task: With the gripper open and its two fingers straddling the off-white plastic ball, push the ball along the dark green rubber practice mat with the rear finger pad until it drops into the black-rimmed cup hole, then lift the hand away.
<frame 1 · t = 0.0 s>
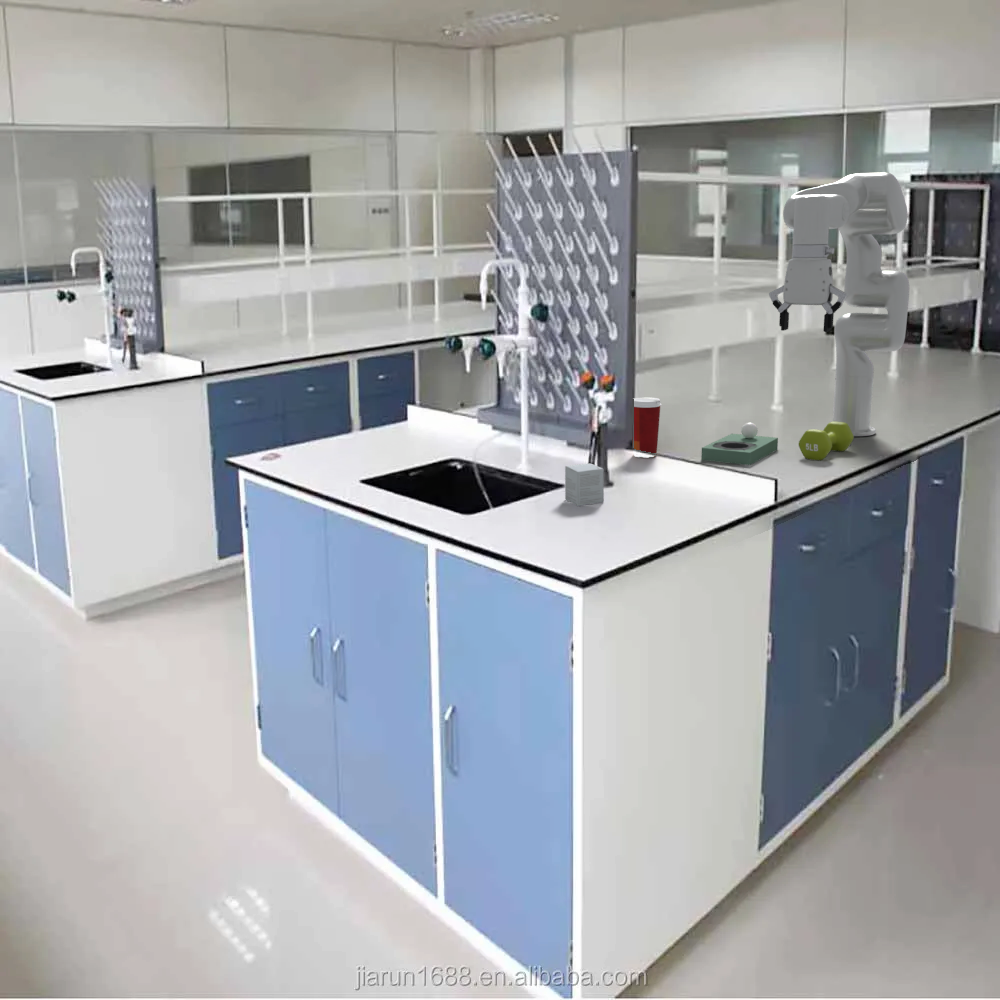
hand: (805, 330, 240), 31 cm above the countertop, fingers open, 9 cm apart
product box: (584, 502, 219), on the countertop
dumbbell: (825, 455, 259), on the countertop
paper cup: (644, 456, 261), on the countertop
putting mat: (740, 454, 260), on the countertop
ball: (749, 430, 264), point 5 cm above the countertop, touching putting mat
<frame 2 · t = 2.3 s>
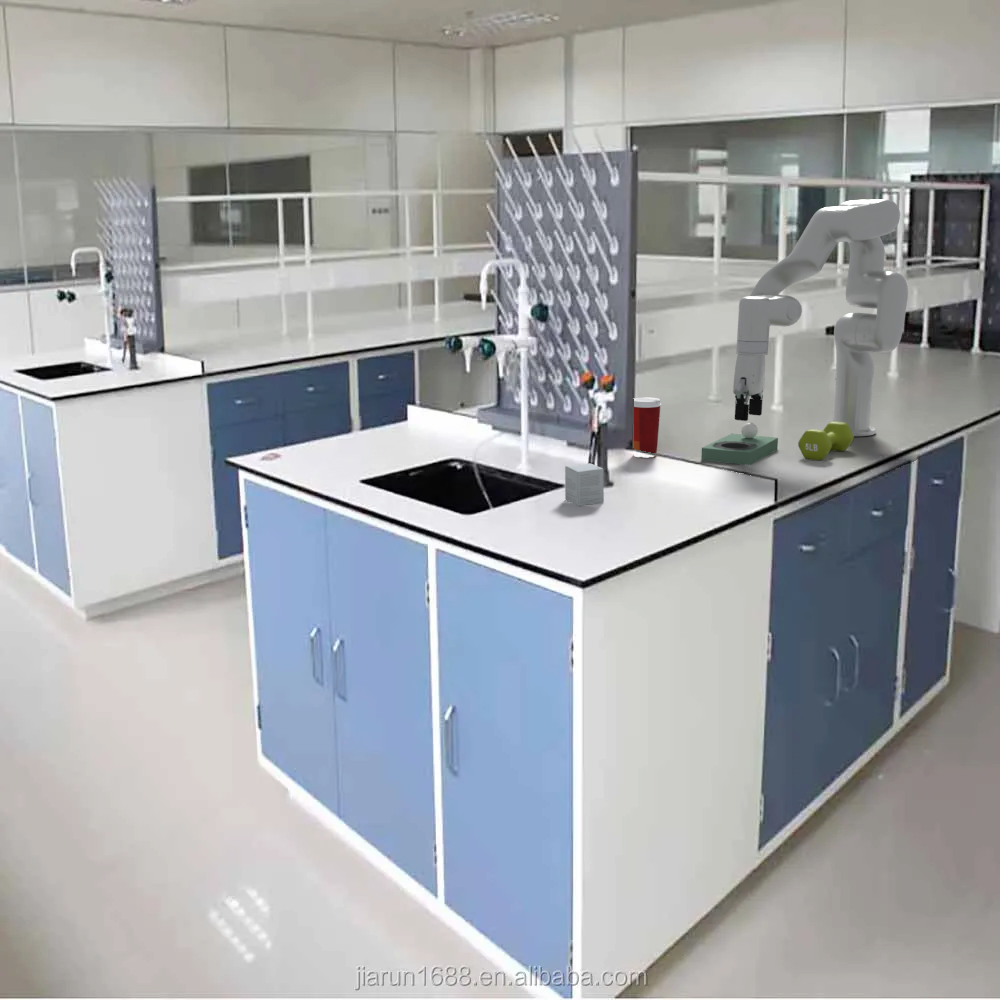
hand: (748, 417, 262), 8 cm above the countertop, fingers open, 9 cm apart
nothing on the countertop moved.
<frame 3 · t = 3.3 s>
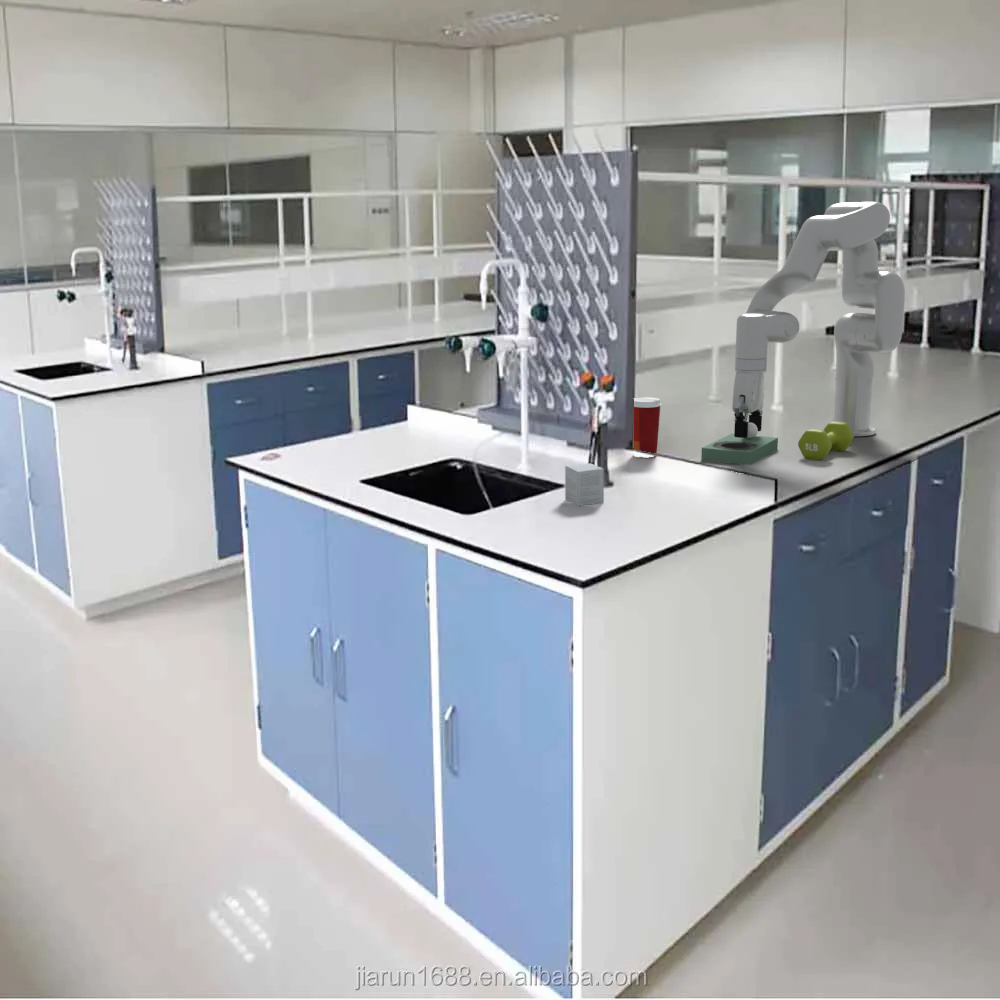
hand: (747, 434, 263), 4 cm above the countertop, fingers open, 9 cm apart
nothing on the countertop moved.
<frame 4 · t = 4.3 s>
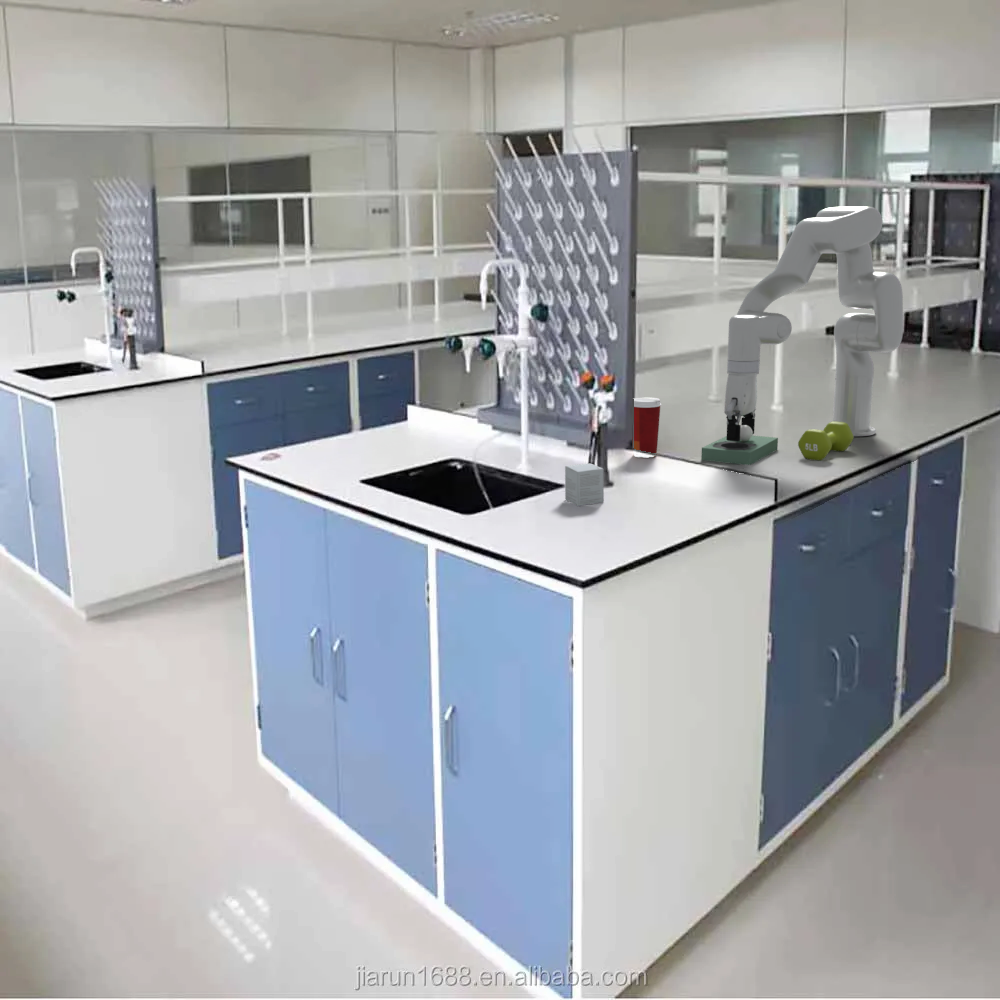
hand: (740, 437, 259), 4 cm above the countertop, fingers open, 9 cm apart
ball: (744, 433, 261), point 5 cm above the countertop, tilted 103°, touching putting mat
everything else where it was.
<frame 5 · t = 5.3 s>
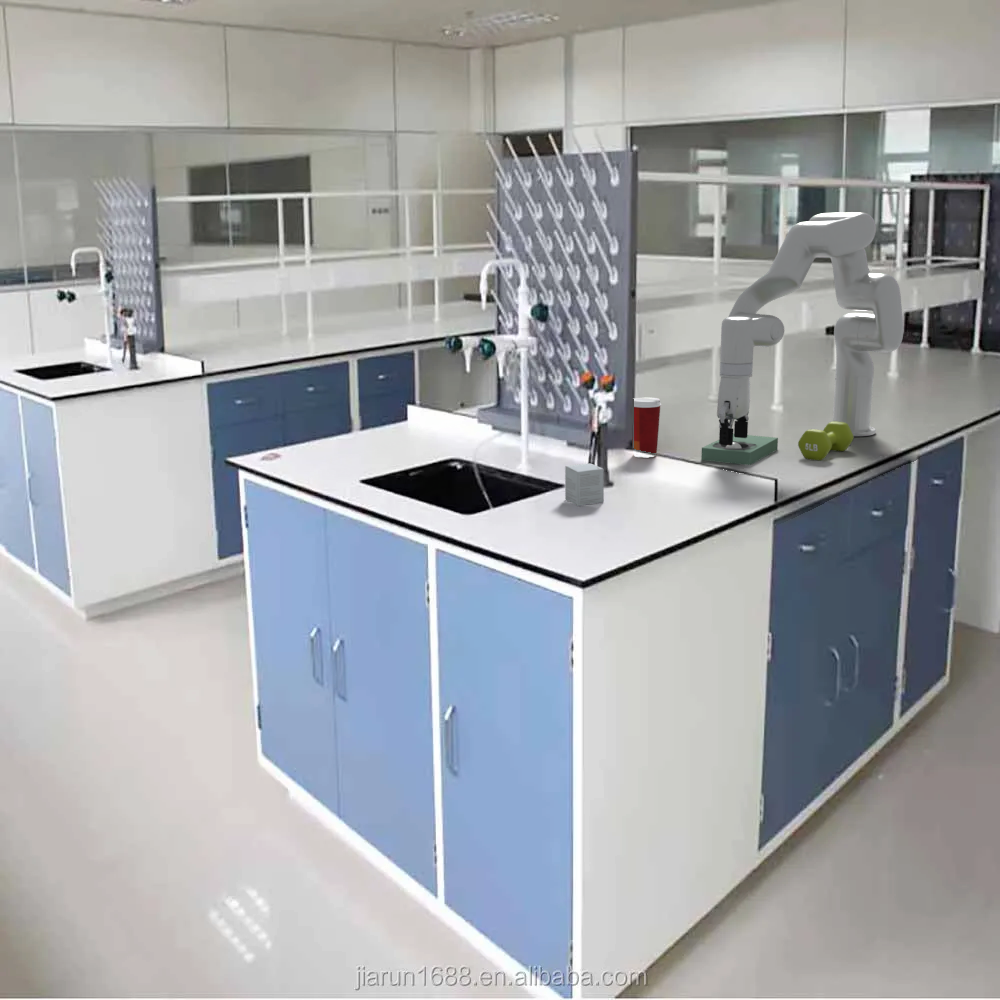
hand: (733, 441, 255), 4 cm above the countertop, fingers open, 9 cm apart
ball: (733, 450, 256), point 2 cm above the countertop, tilted 25°
everything else where it was.
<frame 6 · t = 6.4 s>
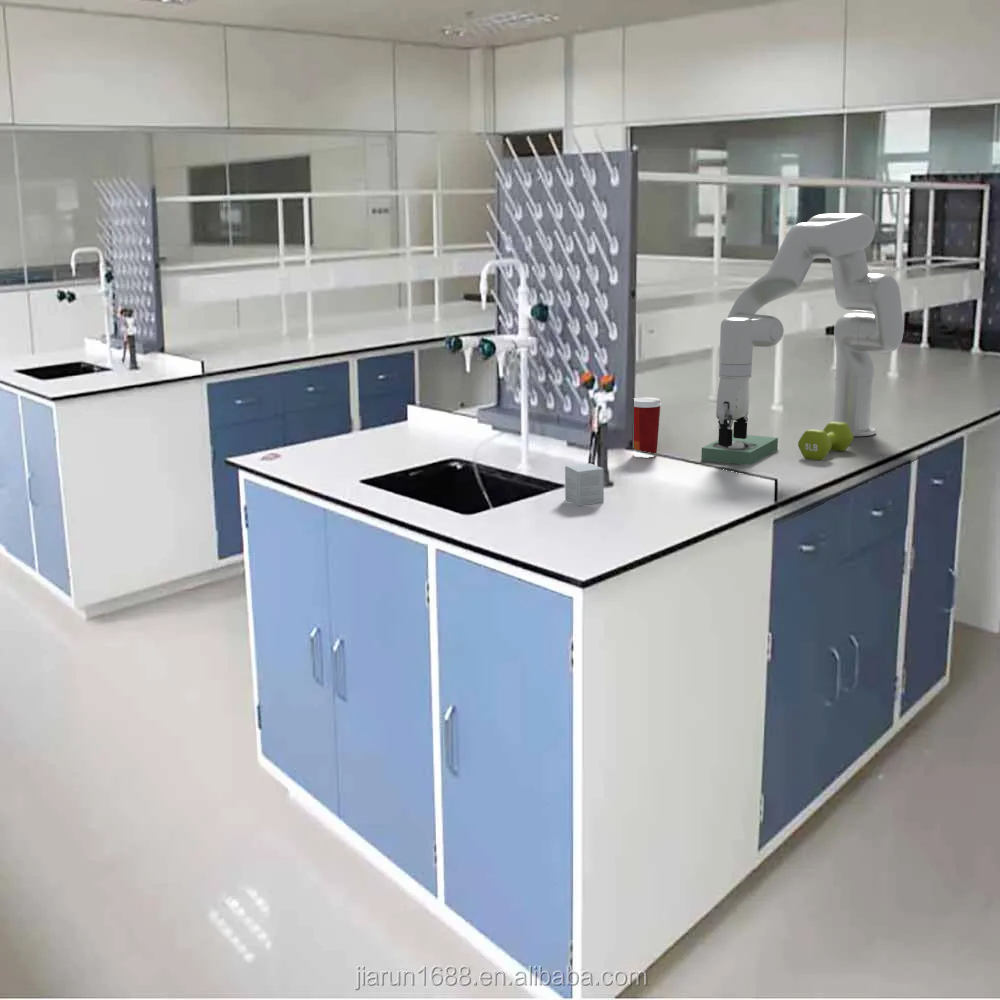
hand: (732, 441, 254), 4 cm above the countertop, fingers open, 9 cm apart
ball: (736, 448, 257), point 2 cm above the countertop, tilted 83°
everything else where it was.
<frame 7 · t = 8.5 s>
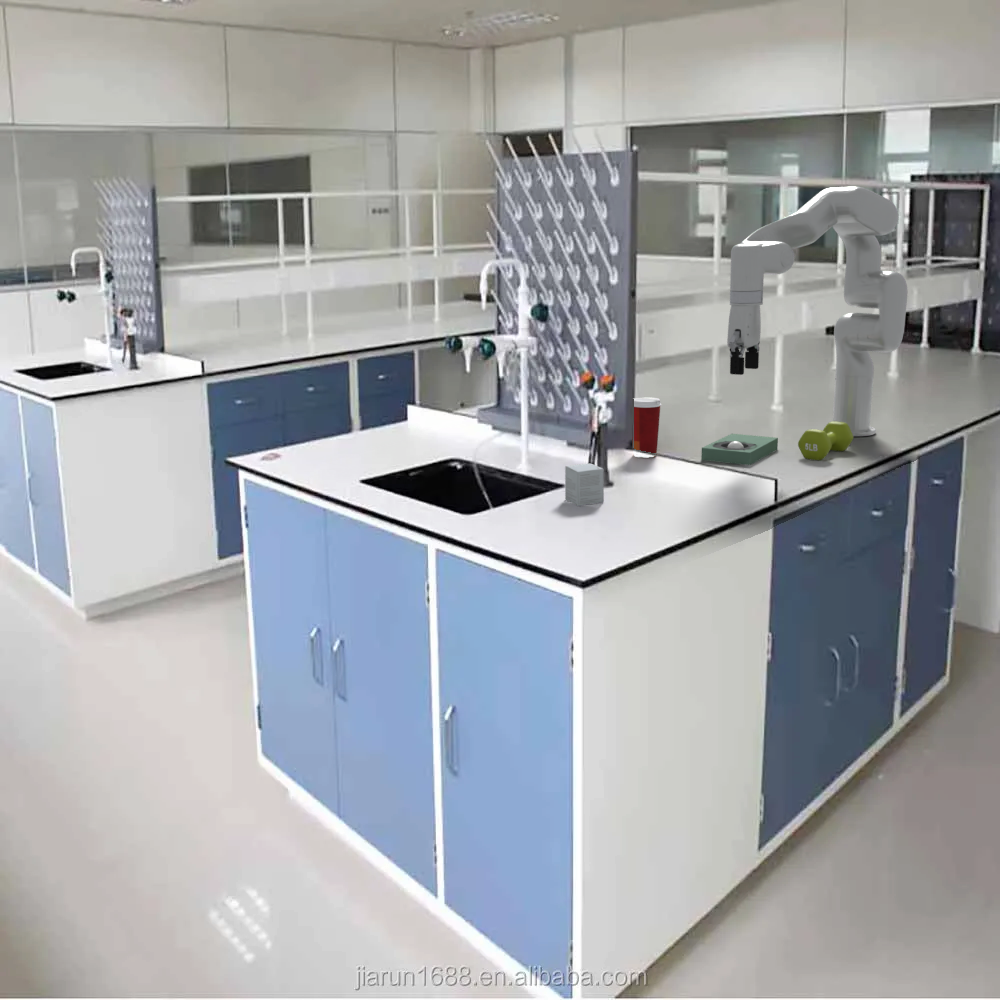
hand: (744, 371, 252), 21 cm above the countertop, fingers open, 9 cm apart
ball: (735, 449, 257), point 2 cm above the countertop, tilted 61°
everything else where it was.
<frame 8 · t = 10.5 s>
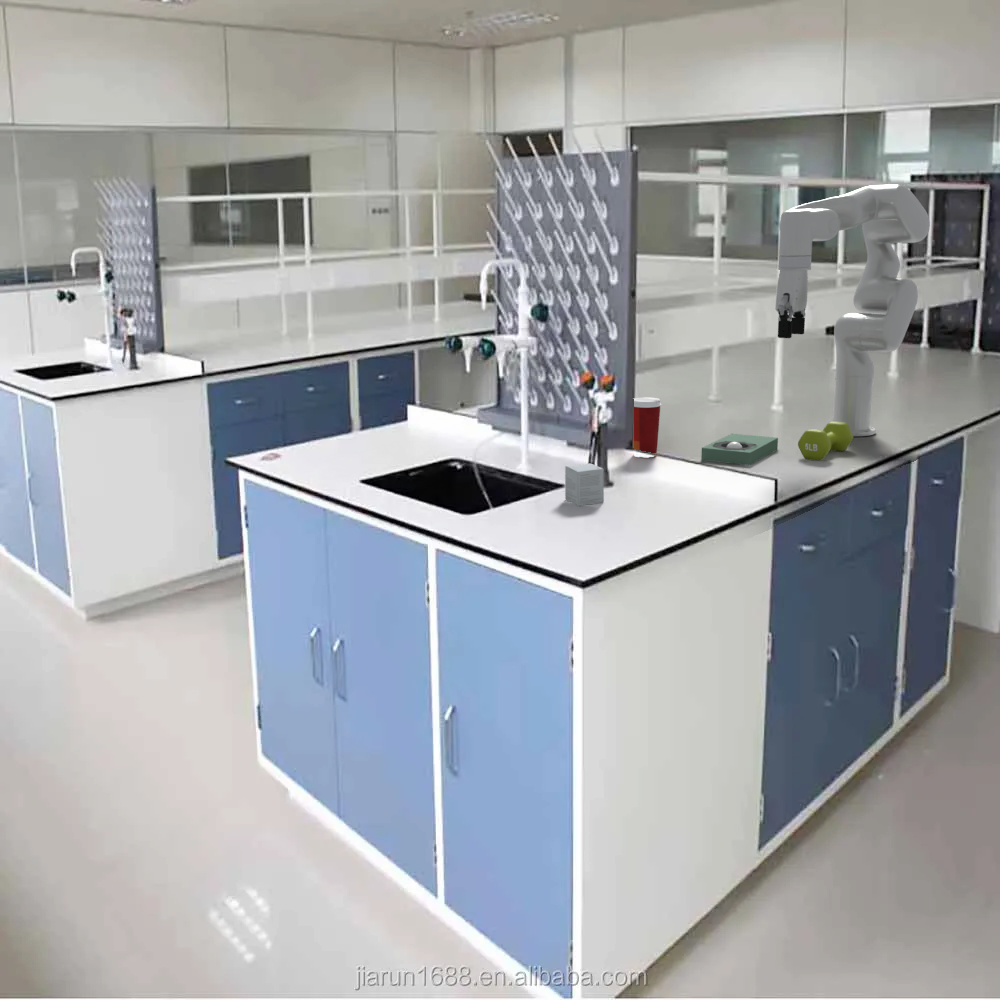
hand: (791, 335, 257), 28 cm above the countertop, fingers open, 9 cm apart
ball: (734, 449, 256), point 2 cm above the countertop, tilted 40°
everything else where it was.
at the end: ball 0.3 cm from the target spot on the putting mat, point 2.0 cm above the putting mat's base; ball touching countertop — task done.
